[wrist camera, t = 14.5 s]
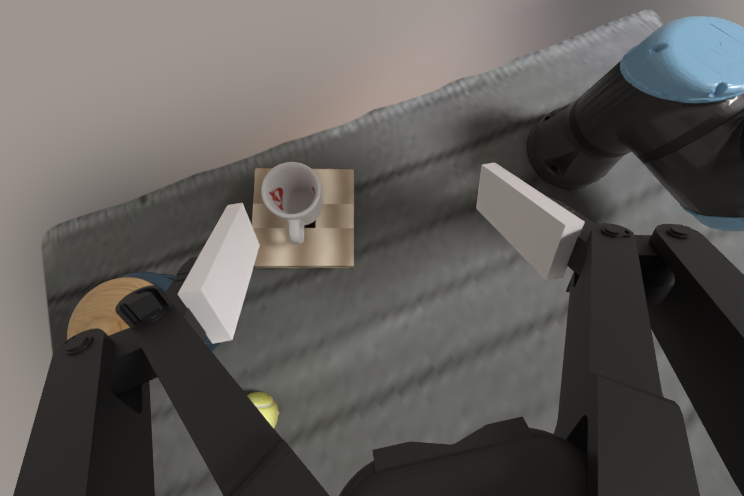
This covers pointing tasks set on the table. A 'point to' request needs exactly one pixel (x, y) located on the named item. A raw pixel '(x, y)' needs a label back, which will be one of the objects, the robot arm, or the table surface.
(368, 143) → the table surface
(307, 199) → the cup
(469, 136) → the table surface
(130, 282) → the canister
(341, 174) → the opening block
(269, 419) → the tennis ball
